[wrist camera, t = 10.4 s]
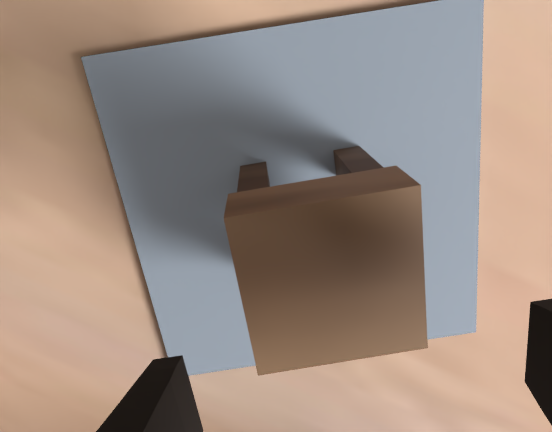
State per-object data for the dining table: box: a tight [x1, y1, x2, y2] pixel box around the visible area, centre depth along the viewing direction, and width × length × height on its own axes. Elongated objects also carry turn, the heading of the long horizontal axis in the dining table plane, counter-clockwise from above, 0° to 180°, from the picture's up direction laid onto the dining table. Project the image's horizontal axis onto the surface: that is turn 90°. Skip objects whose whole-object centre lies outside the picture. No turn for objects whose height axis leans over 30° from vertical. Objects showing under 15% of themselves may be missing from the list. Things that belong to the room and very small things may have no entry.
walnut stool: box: [224, 146, 428, 375], centre depth 15 cm, size 5×5×6 cm
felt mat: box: [81, 0, 484, 376], centre depth 18 cm, size 14×14×1 cm
